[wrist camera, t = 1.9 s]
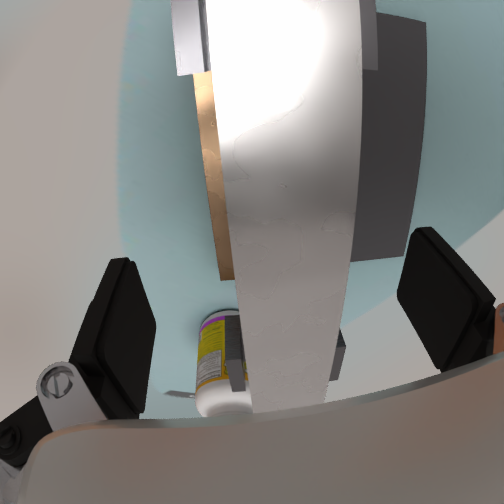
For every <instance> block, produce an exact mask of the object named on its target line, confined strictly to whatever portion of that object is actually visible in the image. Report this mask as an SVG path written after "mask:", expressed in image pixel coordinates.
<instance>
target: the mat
mask: <svg viewBox="0 0 504 504" xmlns="http://www.w3.org/2000/svg"><path fill="white" fill-rule="evenodd" d="M376 21H377V44H378V70H368V69H362V126H361V149H360V167H359V181H358V193H357V205H356V215H355V225H354V234H353V242H352V250H351V258H350V262H355V261H364V260H373V259H382V258H391V257H400V256H404V251H405V247H406V242H407V237H408V233H409V228H410V223H411V217H412V212H413V206H414V201H415V194H416V188H417V182H418V175H419V167H420V159H421V151H422V142H423V131H424V119H425V104H426V80H427V39H426V22H422V21H417V20H413V19H409V18H404V17H399V16H394V15H389V14H383V13H377V12H376Z"/></svg>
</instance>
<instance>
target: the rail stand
mask: <svg viewBox="0 0 504 504" xmlns="http://www.w3.org/2000/svg"><path fill="white" fill-rule="evenodd" d="M359 5H360V21H361V42H362V69H368V70H378V44H377V21H376V5H375V0H359ZM171 13H172V25H173V36H174V46H175V56H176V65H177V75H178V76H182V75H189V74H193V77H194V87H195V96H196V105H197V114H198V122H199V131H200V139H201V147H202V155H203V163H204V170H205V178H206V185H207V193H208V200H209V207H210V214H211V221H212V228H213V234H214V241H215V248H216V254H217V261H218V267H219V273H220V280H221V281H224V280H235V275H234V267H233V259H232V251H231V243H230V234H229V226H228V217H227V209H226V200H225V191H224V182H223V173H222V164H221V155H220V145H219V136H218V126H217V116H216V106H215V96H214V86H213V75H212V65H211V54H210V42H209V31H208V19H207V6H206V0H171ZM345 349H346V345H345V342H344V339H343V336H342V333H341V330H340V328H339V334H338V339H337V344H336V349H335V354H334V359H333V364H332V369H331V373H330V378H329V381H333V380H338V377H339V373H340V369H341V365H342V361H343V357H344V353H345ZM244 362H246V359H245V352H244V344H243V337H242V329H241V322H240V315H229V316H225V363H226V367H227V372H228V376H229V381H230V385H231V389H232V392H243V391H246V383H245V368H244Z"/></svg>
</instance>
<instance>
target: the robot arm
mask: <svg viewBox="0 0 504 504" xmlns="http://www.w3.org/2000/svg"><path fill="white" fill-rule="evenodd" d="M397 299H398V301H399V303H400V305H401V306H402V308H403V309H404V311H405V313H406V315H407V316H408V318H409V320H410V321H411V323H412V325H413V327H414V329H415V330H416V332H417V334H418V336H419V338H420V339H421V341H422V343H423V345H424V347H425V349H426V350H427V352H428V354H429V356H430V358H431V360H432V362H433V364H434V366H435V367H436V368H437V369H440V371H441V374H438V375H434V376H431V377H428V378H425V379H421V380H418V381H415V382H411V383H408V384H404V385H401V386H397V387H393V388H390V389H386V390H382V391H378V392H374V393H370V394H365V395H361V396H357V397H352V398H347V399H343V400H338V401H333V402H328V403H322V404H316V405H311V406H305V407H298V408H292V409H285V410H278V411H270V412H262V413H253V414H243V415H232V416H218V417H201V418H179V419H139V414H140V413H143V412H144V410H145V403H146V394H147V387H148V380H149V373H150V366H151V359H152V352H153V346H154V340H155V334H156V321H155V318H154V315H153V313H152V310H151V307H150V304H149V302H148V299H147V296H146V293H145V290H144V287H143V284H142V281H141V278H140V275H139V272H138V269H137V266H136V264H135V262H134V261H130V260H129V258H127V257H125V258H116V259H111V260H110V262H109V264H108V266H107V268H106V271H105V273H104V275H103V278H102V280H101V282H100V284H99V287H98V289H97V292H96V294H95V296H94V299H93V301H91V303H90V305H89V307H88V310H87V313H86V315H85V318H84V320H83V323H82V325H81V328H80V331H79V333H78V336H77V339H76V341H75V344H74V347H73V350H72V353H71V356H70V359H69V362H57V363H54V364H52V365H49V366H48V367H47V368H46V369H44V371H43V372H42V373H41V374H40V376H39V378H38V380H37V385H36V390H37V396H36V397H35V398H33V399H32V400H31V401H29V402H27V403H26V404H25V405H23V406H22V407H21V408H19V409H18V410H16V411H15V412H14V413H12V414H11V415H10V416H8V417H7V418H5V419H4V420H3V421H1V422H0V504H504V303H502V304H499V305H498V306H497V308H496V309H495V307H494V306H493V304H494V302H495V300H496V298H495V297H494V296H493V295H492V293H491V292H490V291H489V289H488V288H487V287H486V286H485V285H484V284H483V282H482V281H481V280H480V279H479V278H478V276H477V275H476V274H475V273H474V272H473V271H472V269H471V268H470V267H469V266H468V265H467V264H466V263H465V262H464V260H462V258H461V257H460V256H459V255H458V254H457V253H456V252H455V251H454V249H453V248H452V247H451V246H450V245H449V244H448V243H447V242H446V241H445V240H444V239H443V238H442V237H441V236H440V235H439V234H438V233H437V232H436V231H435V230H434V229H433V228H432V227H420V228H416V229H415V231H414V232H413V233H412V234H411V236H410V240H409V245H408V249H407V253H406V258H405V262H404V266H403V270H402V274H401V278H400V281H399V285H398V289H397Z"/></svg>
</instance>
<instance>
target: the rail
mask: <svg viewBox="0 0 504 504" xmlns="http://www.w3.org/2000/svg"><path fill="white" fill-rule="evenodd" d="M206 6H207V19H208V31H209V42H210V54H211V65H212V75H213V86H214V96H215V106H216V116H217V126H218V136H219V145H220V155H221V164H222V173H223V182H224V191H225V200H226V209H227V217H228V226H229V234H230V243H231V251H232V259H233V267H234V275H235V283H236V291H237V299H238V307H239V314H240V322H241V329H242V337H243V344H244V352H245V359H246V366H247V373H248V380H249V387H250V394H251V401H252V408H253V413H262V412H270V411H278V410H285V409H292V408H298V407H305V406H311V405H316V404H322V403H324V400H325V395H326V391H327V387H328V382H329V378H330V373H331V369H332V364H333V359H334V354H335V349H336V344H337V339H338V334H339V328H340V323H341V317H342V311H343V305H344V299H345V293H346V286H347V280H348V273H349V266H350V258H351V250H352V242H353V234H354V225H355V215H356V205H357V193H358V181H359V167H360V149H361V126H362V42H361V21H360V5H359V0H206Z"/></svg>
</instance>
